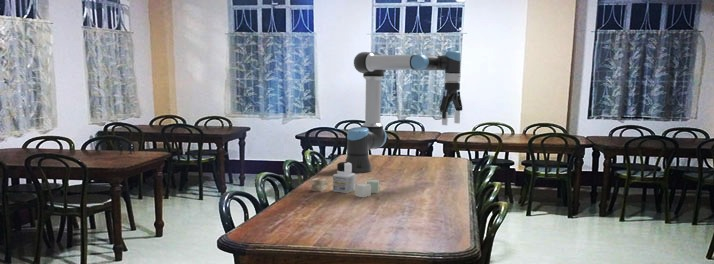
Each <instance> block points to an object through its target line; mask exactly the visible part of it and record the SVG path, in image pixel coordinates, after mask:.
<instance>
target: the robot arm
mask: <svg viewBox="0 0 714 264" xmlns="http://www.w3.org/2000/svg"><path fill="white" fill-rule="evenodd" d="M461 55H462V54H461V52H460V51H459V50H457V51H456V50H450V51H449V50H448V51H446V52H445V55H433V54H423V53H422V54H421V53H420V54H419V53H418V54H382V53H381V52H373V51H372V52H371V51H369V52H367V51H362V52H359V53H357V54H356V55H355V56H354V59H353V66H354V69H355V70H356V71H357V72H358V73H360V74H362V77H363V78H364V79H365V111H364V112H365V120H364V121H365V122H364V123H363V124H362V126H357V127H351V128H350V129H348V130H347V135H346V139H347V140H346V143H347V145H346V147H347V148H346V151H347V152H346V153H347V154H346V159H345V161H344V162H349V163H351V164H352V172H351V173H354V174H356V173H359V174H360V173H370V172H371V171H372V165H371V161H370V158H369V150H377V149H379V148H381V147H383V146H385V143H386V142H387V135H388V134H387V132H386V131H385V129H384V125H383V124H382V123H381V110H382V109H381V104H382V103H381V102H382V100H381V99H382V80H383V78H384V77H385V73H386V71H388V70H391V71H392V70H393V71H397V70H398V71H403V70H405V71H407V70H408V71H410V70H411V71H412V70H414V71H444V90H445V91H443V95H442V99H441V100H442V101H441V103H440V108H439V112H440V113H441V126H448V120H449V119H448V117H449V116H448V115H449V113H448V110H449V107H450V105H451V103H453V106H454V109H455V110H454V119H453V120H454V121H453V122H454V124H461V123H460V122H461V111H463V103H462V98H461V91H460V89H461V88H460V87H461V83H460V81H461V62H462V59H461V58H462V57H461Z"/></svg>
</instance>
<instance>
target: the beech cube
mask: <svg viewBox="0 0 714 264" xmlns="http://www.w3.org/2000/svg"><path fill="white" fill-rule="evenodd" d="M325 189H326V190H327V178H322V177H315V178H312V179H311V191H312V190H313V191H314V192H321V191H322V192H324V191H326V190H325ZM323 190H324V191H323Z"/></svg>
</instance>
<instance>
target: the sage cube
mask: <svg viewBox="0 0 714 264" xmlns="http://www.w3.org/2000/svg"><path fill="white" fill-rule="evenodd" d="M366 184H370V185H371V194H379V191H380V180H379V179H367V181H366Z"/></svg>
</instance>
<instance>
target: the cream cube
mask: <svg viewBox="0 0 714 264" xmlns="http://www.w3.org/2000/svg"><path fill="white" fill-rule="evenodd" d="M354 196H356V197H358V198H362V197H363V198H366V197H367V196H368V197H372V193H371V185H370V184H367V182H361V183H356V184H355V190H354Z"/></svg>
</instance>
